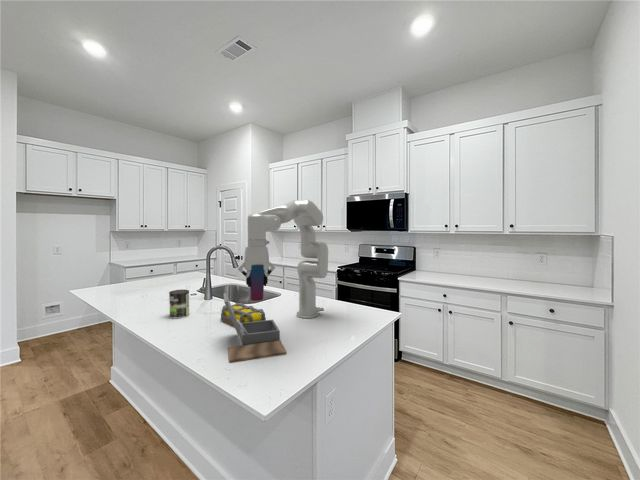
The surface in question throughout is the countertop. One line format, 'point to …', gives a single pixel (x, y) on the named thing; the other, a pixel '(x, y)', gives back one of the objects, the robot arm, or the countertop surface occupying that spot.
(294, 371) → the countertop surface
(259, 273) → the cup
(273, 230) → the robot arm
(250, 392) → the countertop surface
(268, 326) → the equipment case
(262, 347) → the walnut board
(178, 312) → the coffee can
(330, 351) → the countertop surface
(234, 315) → the case lid
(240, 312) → the cage light
